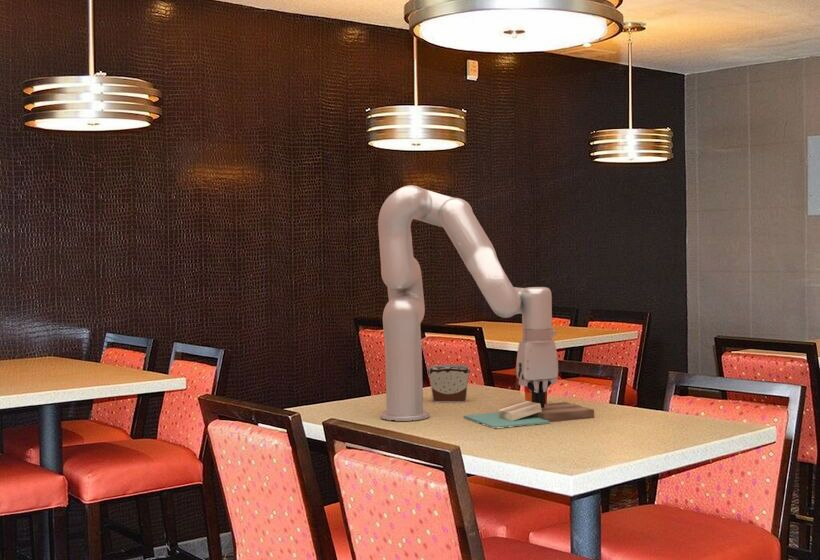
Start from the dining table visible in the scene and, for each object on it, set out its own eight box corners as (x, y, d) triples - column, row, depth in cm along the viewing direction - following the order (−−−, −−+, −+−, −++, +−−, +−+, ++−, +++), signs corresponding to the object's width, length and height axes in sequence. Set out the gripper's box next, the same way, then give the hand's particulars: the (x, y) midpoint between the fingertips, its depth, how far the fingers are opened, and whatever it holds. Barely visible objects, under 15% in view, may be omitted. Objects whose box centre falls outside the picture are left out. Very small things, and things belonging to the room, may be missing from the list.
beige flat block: (499, 417, 262) (497, 410, 262) (528, 408, 266) (526, 400, 266) (512, 420, 257) (510, 413, 257) (541, 411, 261) (540, 403, 261)
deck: (518, 414, 271) (518, 406, 270) (565, 409, 276) (565, 402, 276) (545, 422, 258) (545, 414, 257) (594, 417, 263) (594, 409, 263)
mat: (463, 417, 267) (463, 415, 267) (515, 412, 272) (515, 410, 272) (495, 429, 250) (494, 426, 250) (549, 423, 256) (549, 421, 256)
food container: (473, 398, 298) (472, 364, 298) (471, 402, 292) (470, 366, 292) (430, 398, 300) (429, 364, 300) (427, 402, 294) (427, 367, 294)
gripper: (555, 332, 270) (556, 403, 271) (504, 336, 265) (505, 407, 265) (570, 335, 263) (571, 407, 264) (518, 338, 258) (519, 411, 258)
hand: (538, 407), depth 265 cm, fingers closed
